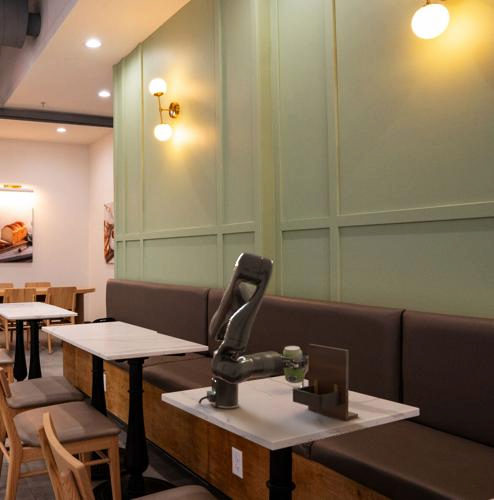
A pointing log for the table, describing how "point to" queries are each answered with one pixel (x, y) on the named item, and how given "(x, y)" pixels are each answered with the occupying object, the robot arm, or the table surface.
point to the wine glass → (305, 370)
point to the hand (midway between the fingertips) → (298, 359)
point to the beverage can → (291, 374)
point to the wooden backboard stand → (326, 382)
